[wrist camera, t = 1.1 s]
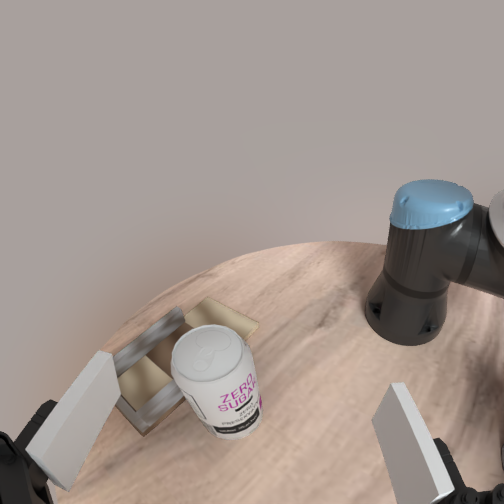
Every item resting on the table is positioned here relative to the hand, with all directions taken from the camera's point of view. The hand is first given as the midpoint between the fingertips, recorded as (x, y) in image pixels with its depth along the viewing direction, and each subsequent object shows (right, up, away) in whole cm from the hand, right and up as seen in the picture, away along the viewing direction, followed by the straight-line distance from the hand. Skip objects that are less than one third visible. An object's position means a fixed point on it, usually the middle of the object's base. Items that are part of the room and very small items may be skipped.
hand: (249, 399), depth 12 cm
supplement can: (-2, -15, +22) cm, 27 cm away
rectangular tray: (-11, -11, +31) cm, 34 cm away
